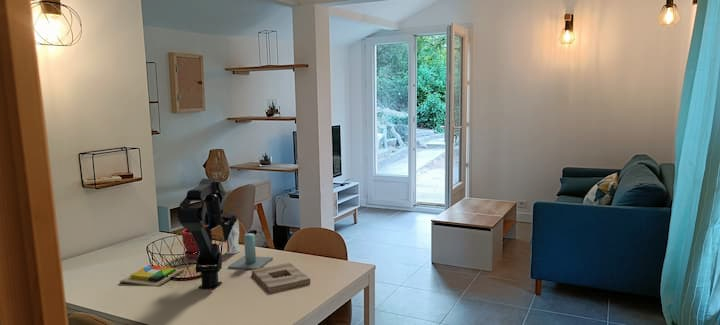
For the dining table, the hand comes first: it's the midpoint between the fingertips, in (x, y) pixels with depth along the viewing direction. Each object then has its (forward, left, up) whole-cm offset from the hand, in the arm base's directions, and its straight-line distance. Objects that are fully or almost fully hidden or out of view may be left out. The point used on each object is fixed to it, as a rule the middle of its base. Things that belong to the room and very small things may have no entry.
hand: (218, 245), depth 203 cm
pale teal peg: (+13, -7, -11) cm, 19 cm away
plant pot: (+21, +23, -12) cm, 33 cm away
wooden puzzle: (-8, +26, -13) cm, 30 cm away
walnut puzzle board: (-2, -27, -12) cm, 30 cm away
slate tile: (+13, -7, -12) cm, 19 cm away
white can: (+27, +9, -12) cm, 31 cm away
